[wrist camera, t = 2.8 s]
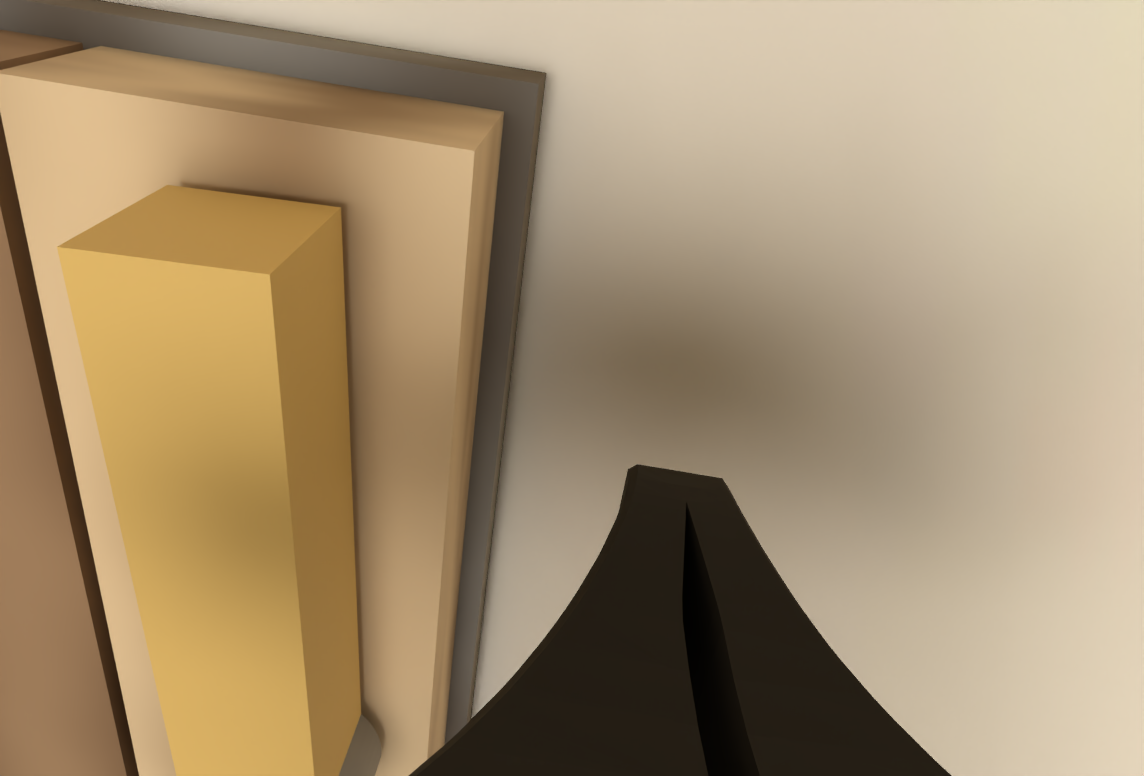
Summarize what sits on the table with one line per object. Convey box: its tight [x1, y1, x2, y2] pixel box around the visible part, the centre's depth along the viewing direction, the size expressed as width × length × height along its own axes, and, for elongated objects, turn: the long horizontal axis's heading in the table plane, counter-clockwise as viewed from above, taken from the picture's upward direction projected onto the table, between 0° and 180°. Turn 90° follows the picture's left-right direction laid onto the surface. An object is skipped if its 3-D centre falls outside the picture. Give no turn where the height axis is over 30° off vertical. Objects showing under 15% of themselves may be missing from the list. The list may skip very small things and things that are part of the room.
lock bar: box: [57, 185, 382, 776], centre depth 13 cm, size 13×3×2 cm, turn 174°
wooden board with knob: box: [0, 0, 546, 776], centre depth 16 cm, size 17×22×6 cm
